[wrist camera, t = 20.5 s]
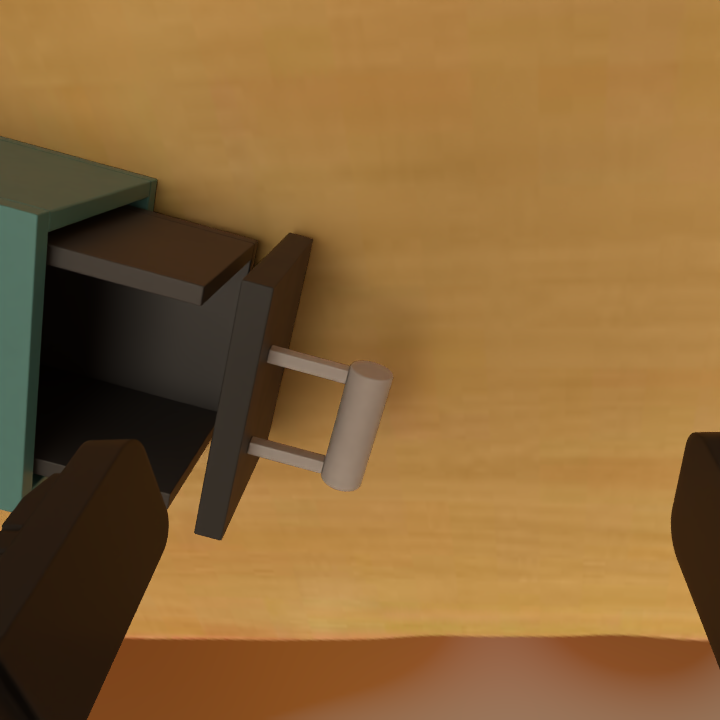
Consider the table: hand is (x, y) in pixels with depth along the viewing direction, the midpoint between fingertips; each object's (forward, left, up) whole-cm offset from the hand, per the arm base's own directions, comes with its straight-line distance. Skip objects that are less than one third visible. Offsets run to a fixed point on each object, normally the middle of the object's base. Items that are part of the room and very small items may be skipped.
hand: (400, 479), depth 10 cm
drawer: (+10, +6, -22) cm, 25 cm away
